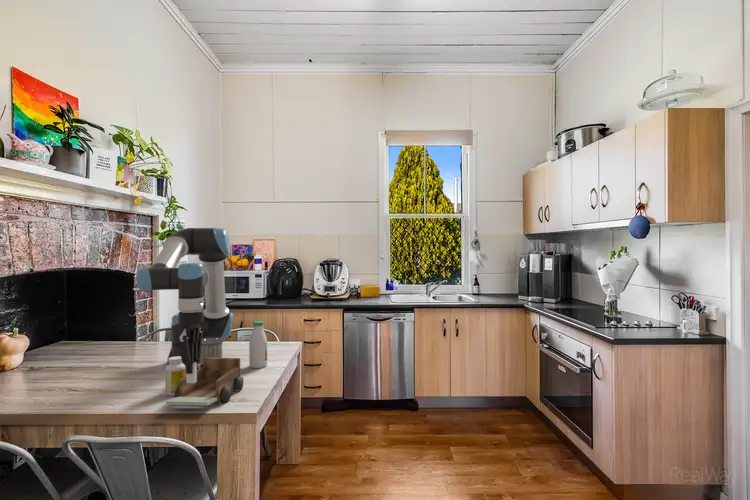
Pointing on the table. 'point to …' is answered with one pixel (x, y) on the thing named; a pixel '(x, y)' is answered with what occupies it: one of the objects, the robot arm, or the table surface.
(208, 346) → the milk frother
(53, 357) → the table surface
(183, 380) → the tray
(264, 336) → the milk bottle
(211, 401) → the panel
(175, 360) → the supplement bottle
